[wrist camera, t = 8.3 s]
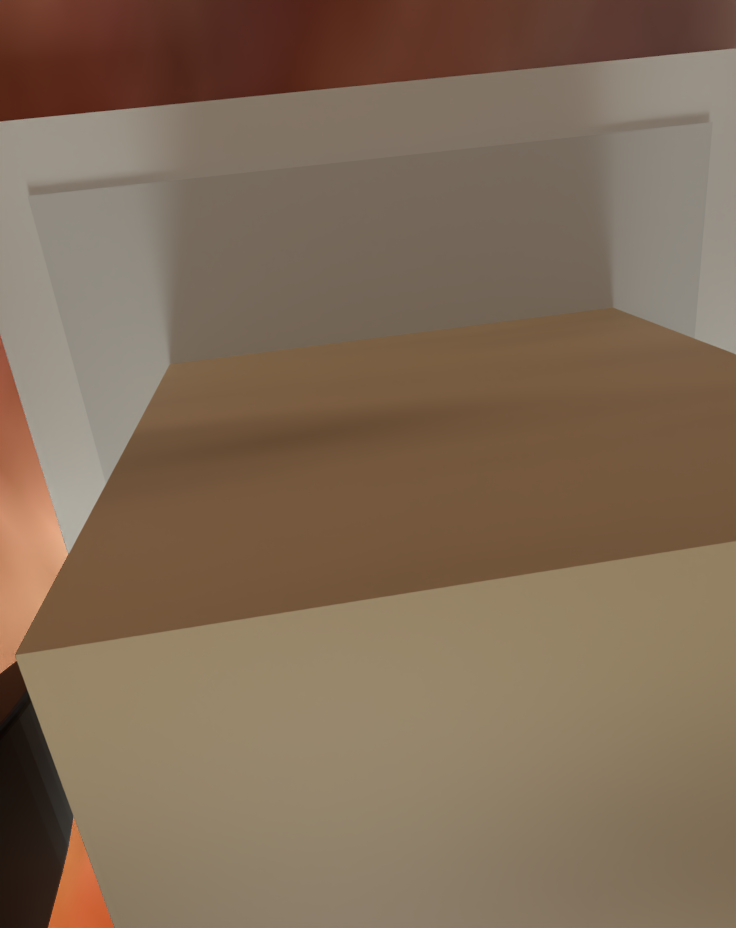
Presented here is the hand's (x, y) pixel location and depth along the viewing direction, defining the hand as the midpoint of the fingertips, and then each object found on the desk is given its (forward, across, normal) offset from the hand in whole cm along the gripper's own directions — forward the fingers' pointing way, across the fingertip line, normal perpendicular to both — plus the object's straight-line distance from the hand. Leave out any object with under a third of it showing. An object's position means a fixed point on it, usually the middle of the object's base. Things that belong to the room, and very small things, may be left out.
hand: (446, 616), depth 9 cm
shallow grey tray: (+3, 0, 0) cm, 3 cm away
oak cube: (+2, 0, 0) cm, 2 cm away
